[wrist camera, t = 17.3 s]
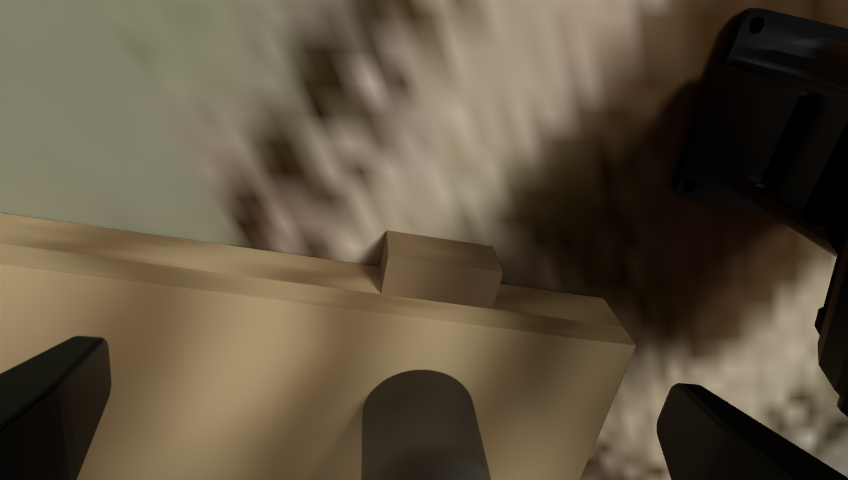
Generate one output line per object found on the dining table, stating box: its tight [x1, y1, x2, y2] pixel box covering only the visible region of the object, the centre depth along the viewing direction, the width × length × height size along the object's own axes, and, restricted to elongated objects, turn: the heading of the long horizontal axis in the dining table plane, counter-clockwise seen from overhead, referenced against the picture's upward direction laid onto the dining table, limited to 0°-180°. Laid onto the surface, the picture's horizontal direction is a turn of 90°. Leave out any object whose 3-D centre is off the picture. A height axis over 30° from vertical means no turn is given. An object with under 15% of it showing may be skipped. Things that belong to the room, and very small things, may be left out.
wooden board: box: [0, 213, 636, 480], centre depth 24 cm, size 22×19×3 cm
